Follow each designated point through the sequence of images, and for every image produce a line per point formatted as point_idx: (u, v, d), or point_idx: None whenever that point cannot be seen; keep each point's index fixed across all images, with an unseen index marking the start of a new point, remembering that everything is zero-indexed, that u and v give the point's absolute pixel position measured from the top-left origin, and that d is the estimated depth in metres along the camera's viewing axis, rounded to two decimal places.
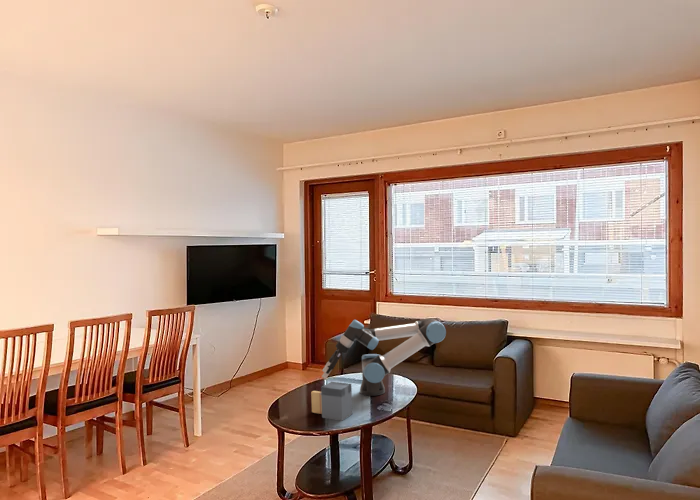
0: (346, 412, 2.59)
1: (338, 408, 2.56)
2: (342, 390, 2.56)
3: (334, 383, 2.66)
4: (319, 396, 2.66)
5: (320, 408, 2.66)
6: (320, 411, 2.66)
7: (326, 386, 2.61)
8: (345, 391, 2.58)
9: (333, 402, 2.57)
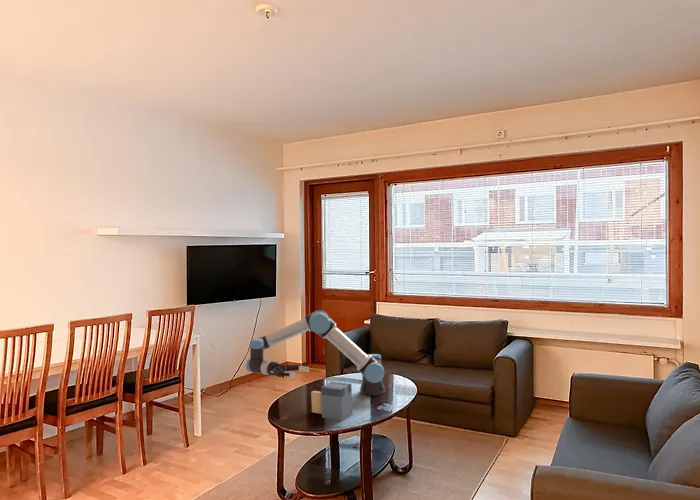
0: (346, 412, 2.59)
1: (338, 408, 2.56)
2: (342, 390, 2.56)
3: (334, 383, 2.66)
4: (319, 396, 2.66)
5: (320, 408, 2.66)
6: (320, 411, 2.66)
7: (326, 386, 2.61)
8: (345, 391, 2.58)
9: (333, 402, 2.57)
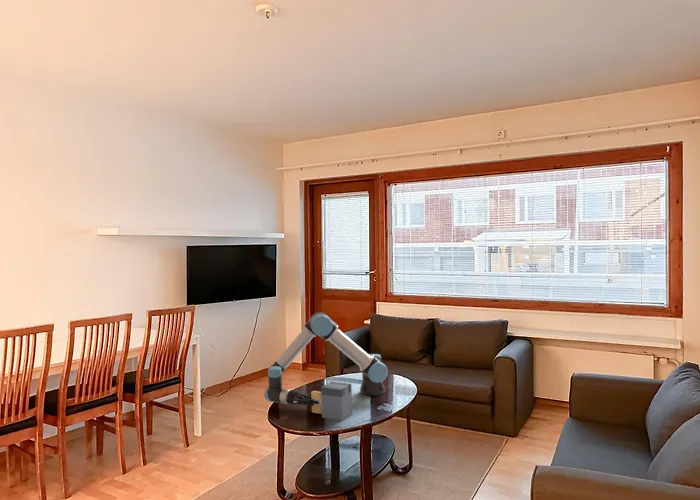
0: (346, 412, 2.59)
1: (338, 408, 2.56)
2: (342, 390, 2.56)
3: (334, 383, 2.66)
4: (319, 396, 2.66)
5: (320, 408, 2.66)
6: (320, 411, 2.66)
7: (326, 386, 2.61)
8: (345, 391, 2.58)
9: (333, 402, 2.57)
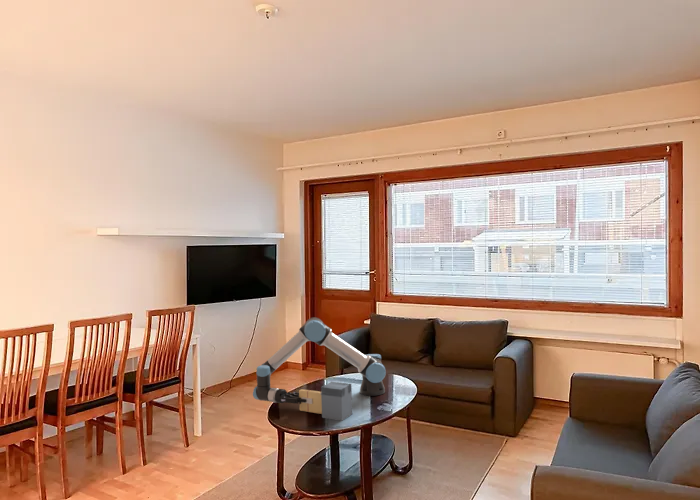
0: (346, 412, 2.59)
1: (338, 408, 2.56)
2: (342, 390, 2.56)
3: (334, 383, 2.66)
4: (307, 394, 2.70)
5: (308, 406, 2.70)
6: (308, 409, 2.70)
7: (326, 386, 2.61)
8: (345, 391, 2.58)
9: (333, 402, 2.57)
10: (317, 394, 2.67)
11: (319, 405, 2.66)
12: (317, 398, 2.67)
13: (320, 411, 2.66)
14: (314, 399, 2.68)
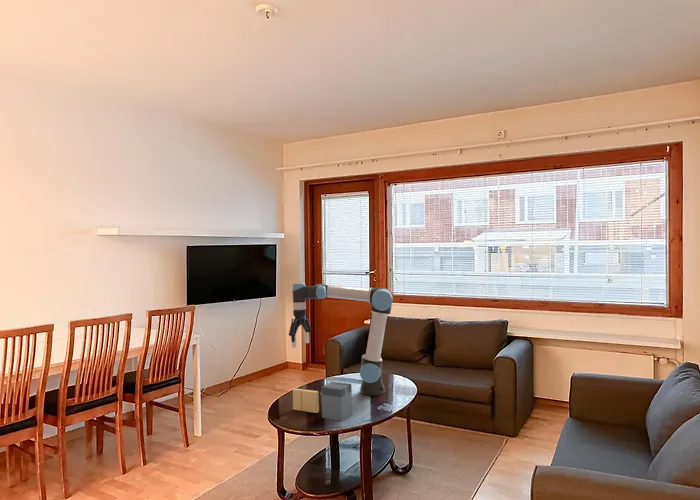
0: (346, 412, 2.59)
1: (338, 408, 2.56)
2: (342, 390, 2.56)
3: (334, 383, 2.66)
4: (300, 394, 2.72)
5: (301, 405, 2.72)
6: (301, 408, 2.72)
7: (326, 386, 2.61)
8: (345, 391, 2.58)
9: (333, 402, 2.57)
10: (310, 393, 2.69)
11: (313, 404, 2.68)
12: (311, 397, 2.69)
13: (313, 410, 2.68)
14: (307, 398, 2.70)
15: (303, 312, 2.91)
